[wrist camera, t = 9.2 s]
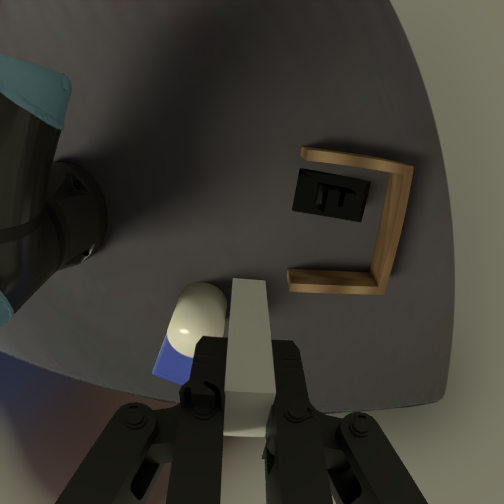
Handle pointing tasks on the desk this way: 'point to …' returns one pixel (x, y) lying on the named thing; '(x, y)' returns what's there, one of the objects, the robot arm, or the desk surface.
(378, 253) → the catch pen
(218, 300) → the cream cylinder
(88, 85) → the desk surface
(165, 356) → the hard drive
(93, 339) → the desk surface
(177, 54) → the desk surface
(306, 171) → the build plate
